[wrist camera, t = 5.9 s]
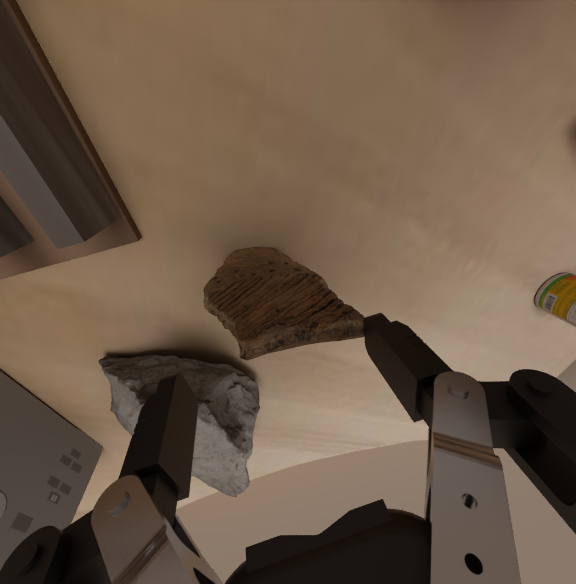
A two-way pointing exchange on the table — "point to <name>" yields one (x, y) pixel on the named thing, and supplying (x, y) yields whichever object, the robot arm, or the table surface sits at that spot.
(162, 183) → the table surface
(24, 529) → the office telephone
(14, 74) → the drying rack
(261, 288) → the pottery shard
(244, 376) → the fossil stone
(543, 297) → the supplement bottle
